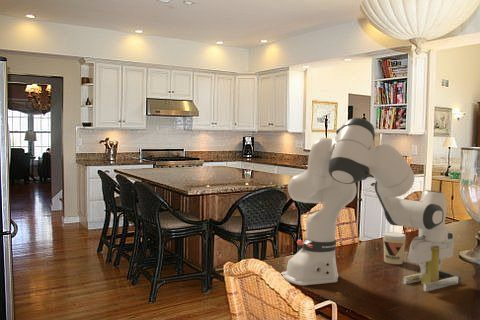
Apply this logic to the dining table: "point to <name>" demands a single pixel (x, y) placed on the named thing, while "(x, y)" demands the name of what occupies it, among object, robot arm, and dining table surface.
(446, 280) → the rail board
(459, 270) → the dining table surface
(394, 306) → the dining table surface
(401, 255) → the coffee cup
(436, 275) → the vase
